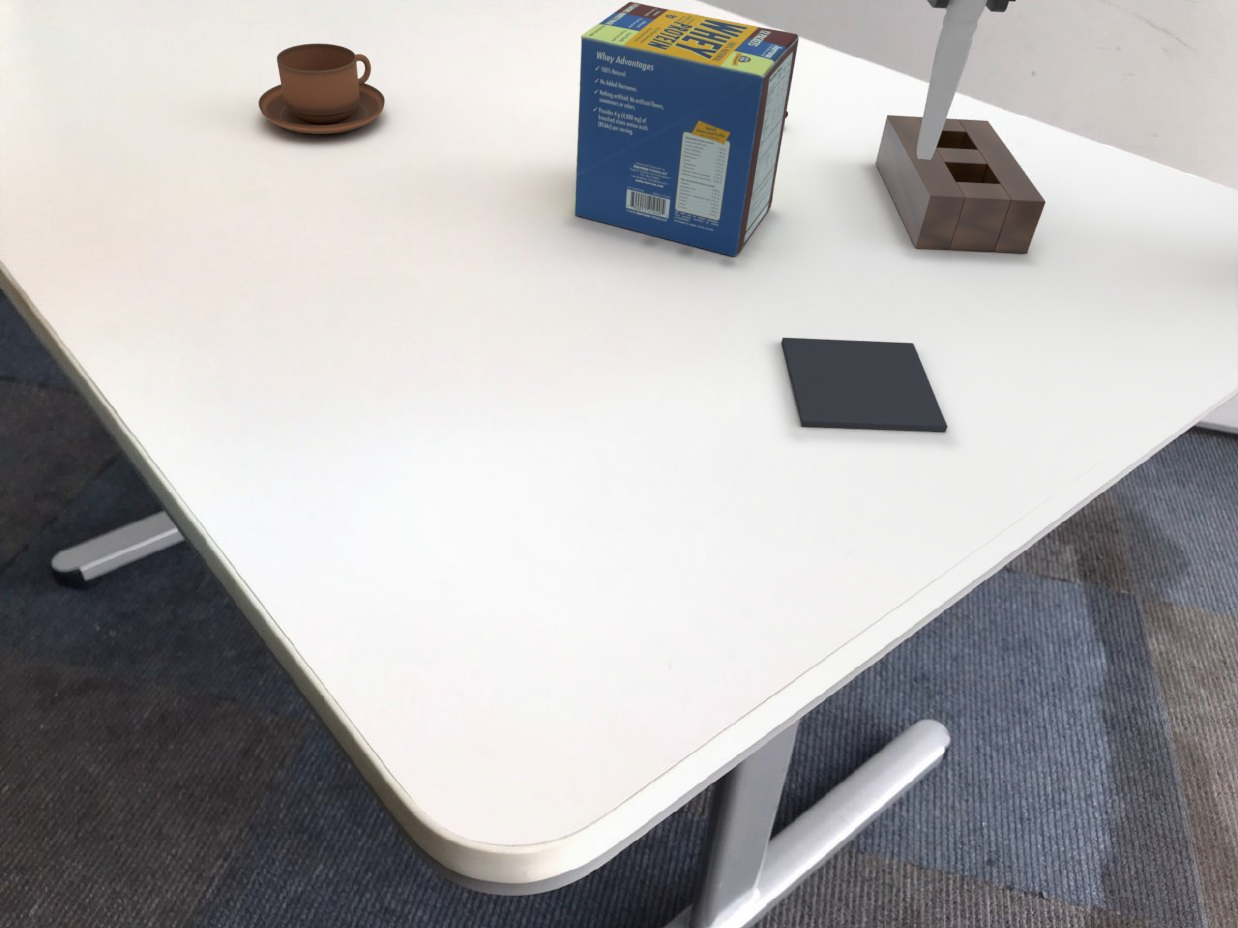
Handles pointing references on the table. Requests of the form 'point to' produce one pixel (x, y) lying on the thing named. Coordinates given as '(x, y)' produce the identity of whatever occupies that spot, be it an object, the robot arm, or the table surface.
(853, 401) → the mat
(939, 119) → the pen
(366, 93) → the cup and saucer
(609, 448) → the table surface
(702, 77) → the protein box
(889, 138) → the pen stand
